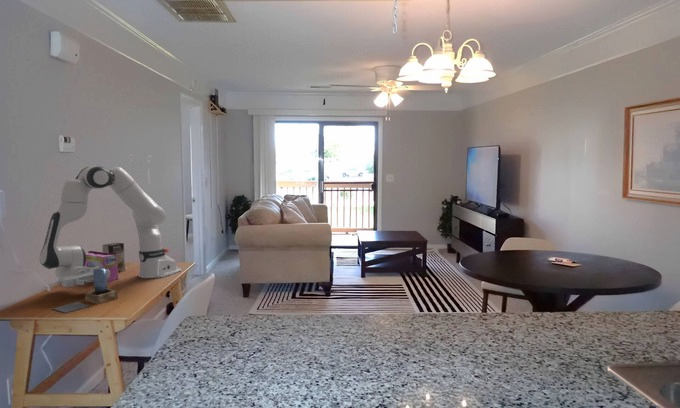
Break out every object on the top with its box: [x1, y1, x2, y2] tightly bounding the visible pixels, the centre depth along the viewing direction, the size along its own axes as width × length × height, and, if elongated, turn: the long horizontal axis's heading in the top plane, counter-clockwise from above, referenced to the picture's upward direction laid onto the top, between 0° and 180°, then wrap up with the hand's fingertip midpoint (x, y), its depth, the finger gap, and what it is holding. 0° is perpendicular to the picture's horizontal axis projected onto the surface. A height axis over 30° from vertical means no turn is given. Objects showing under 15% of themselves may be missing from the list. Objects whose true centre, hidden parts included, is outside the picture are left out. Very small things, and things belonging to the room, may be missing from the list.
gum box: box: [84, 250, 119, 283], centre depth 234 cm, size 24×8×14 cm, turn 62°
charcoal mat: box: [52, 301, 90, 314], centre depth 187 cm, size 10×10×1 cm
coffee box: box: [102, 242, 126, 273], centre depth 248 cm, size 9×6×16 cm
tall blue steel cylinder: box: [93, 268, 108, 295], centre depth 197 cm, size 5×5×14 cm
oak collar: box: [84, 287, 119, 305], centre depth 198 cm, size 9×9×4 cm
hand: (95, 279), depth 199 cm, fingers open, 8 cm apart
